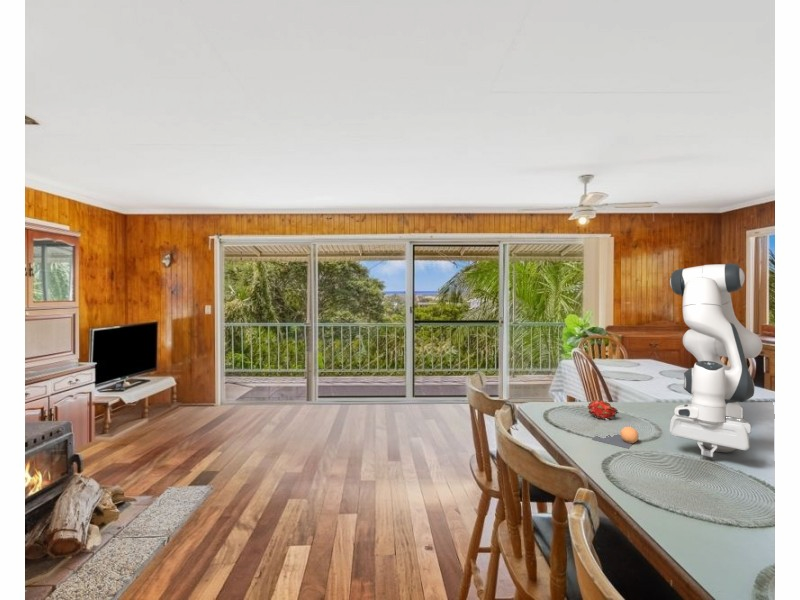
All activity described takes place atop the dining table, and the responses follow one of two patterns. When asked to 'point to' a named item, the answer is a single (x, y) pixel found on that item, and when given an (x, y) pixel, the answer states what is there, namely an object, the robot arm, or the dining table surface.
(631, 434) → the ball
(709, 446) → the teacup
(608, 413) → the dragon fruit
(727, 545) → the dining table surface
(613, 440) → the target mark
